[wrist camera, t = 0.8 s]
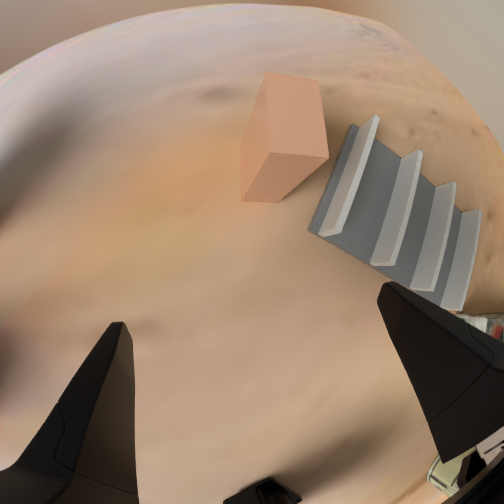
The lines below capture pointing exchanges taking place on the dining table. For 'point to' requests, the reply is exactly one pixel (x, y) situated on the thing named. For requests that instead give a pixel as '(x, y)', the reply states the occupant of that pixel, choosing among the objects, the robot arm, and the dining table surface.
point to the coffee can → (446, 473)
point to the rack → (398, 219)
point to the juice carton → (486, 323)
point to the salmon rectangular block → (282, 138)
